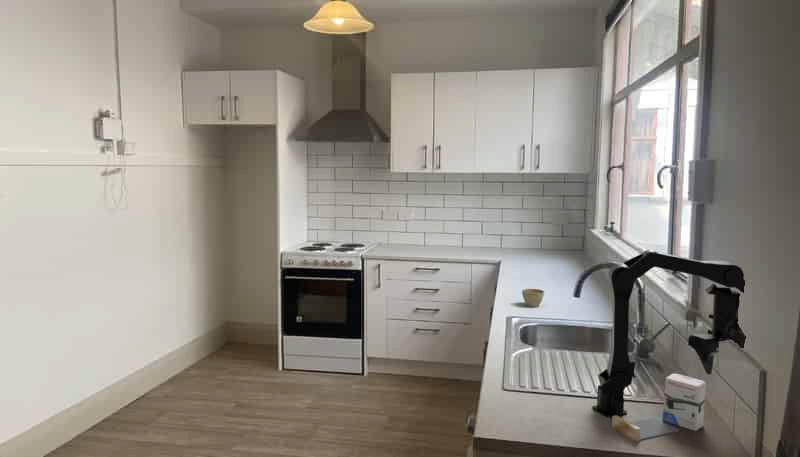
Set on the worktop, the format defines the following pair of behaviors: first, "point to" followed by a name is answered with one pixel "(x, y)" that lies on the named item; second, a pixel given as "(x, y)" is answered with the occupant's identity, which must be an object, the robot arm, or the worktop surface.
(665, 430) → the felt mat
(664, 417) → the ink box
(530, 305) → the flower pot
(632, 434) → the rail
